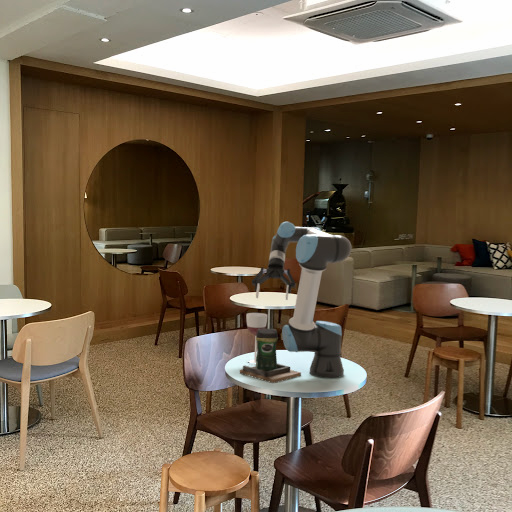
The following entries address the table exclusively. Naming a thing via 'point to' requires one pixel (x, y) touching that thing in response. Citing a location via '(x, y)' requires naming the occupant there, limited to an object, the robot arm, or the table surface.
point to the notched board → (271, 373)
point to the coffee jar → (266, 349)
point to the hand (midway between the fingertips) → (271, 297)
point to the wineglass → (256, 326)
